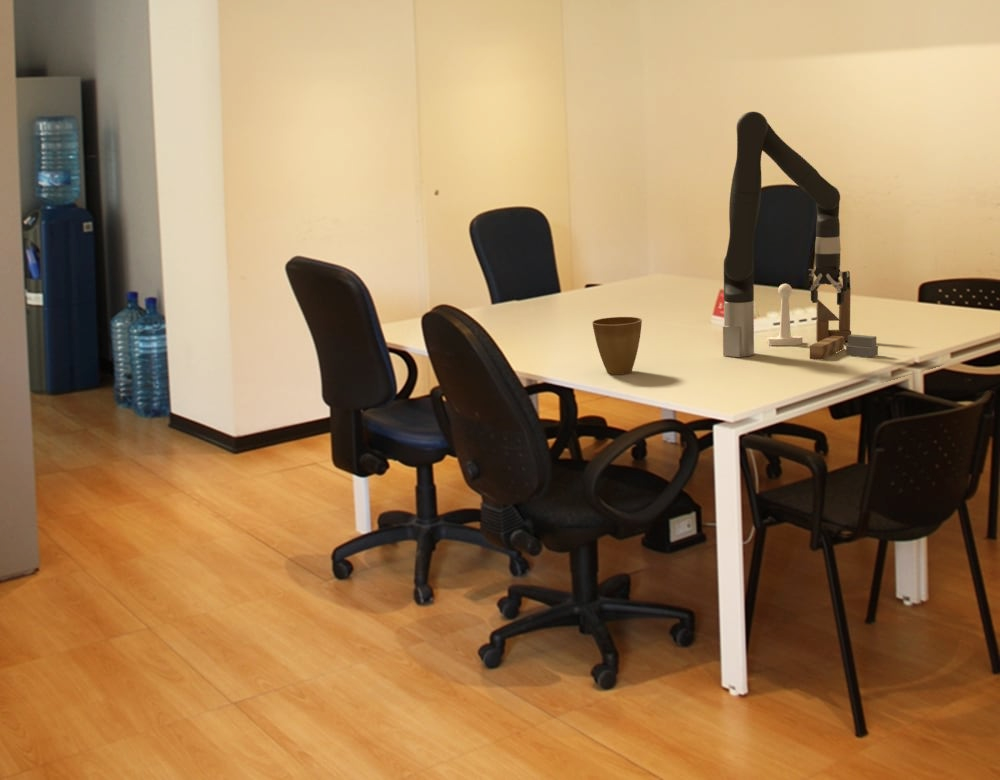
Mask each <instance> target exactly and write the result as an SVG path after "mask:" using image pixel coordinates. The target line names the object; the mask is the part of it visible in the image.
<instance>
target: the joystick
mask: <svg viewBox="0 0 1000 780" xmlns="http://www.w3.org/2000/svg"><path fill="white" fill-rule="evenodd" d="M777 293H778V295H779V296H780V298H781V299H780V302H781V303H780V319H779V334H777V335H775V337H774V336H773V337H770V336H769V337H766V344H767V346H768V345H789V346H797V345H796V344H800V345H803V336H801V335H793V336H792V333H791V316H790V315H791V314H790V296H791V294H792V293H793V288H792V286H791V285H790V284H788V283H782V284H780V285H779V287H778V289H777Z"/></svg>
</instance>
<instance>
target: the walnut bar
mask: <svg viewBox="0 0 1000 780" xmlns="http://www.w3.org/2000/svg"><path fill="white" fill-rule="evenodd" d="M844 348H845V342H844V337H843V336H830V337H828V338H826V339H823V340H821V341H819V342H817V341H816V342H815V343H813V344H810V345H809V360H815V359H823V360H825V359H827V358H829V357H828V356H830V355H832V354H834V353H836V352H838V351H840V350H842V349H844ZM842 351H843V350H842ZM840 352H841V351H840ZM838 353H839V352H838ZM836 354H837V353H836ZM834 355H835V354H834ZM832 356H833V355H832ZM826 357H827V358H826ZM830 357H831V356H830ZM824 358H825V359H824Z"/></svg>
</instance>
